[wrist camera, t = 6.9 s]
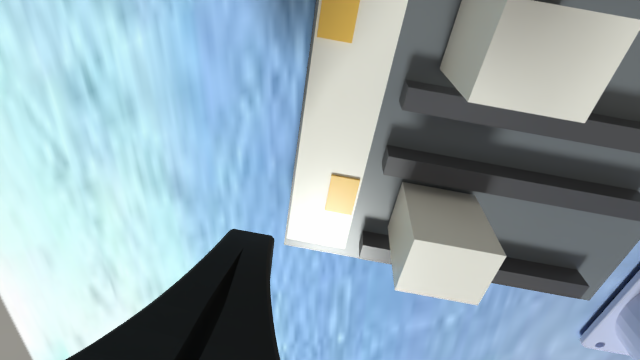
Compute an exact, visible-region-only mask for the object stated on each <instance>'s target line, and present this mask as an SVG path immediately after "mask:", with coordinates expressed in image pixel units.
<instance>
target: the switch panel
mask: <svg viewBox="0 0 640 360" xmlns="http://www.w3.org/2000/svg"><path fill="white" fill-rule="evenodd" d="M461 1H462V0H316V6H315V14H314V21H313V29H312V36H311V44H310V51H309V59H308V67H307V74H306V82H305V89H304V97H303V104H302V112H301V120H300V127H299V135H298V142H297V150H296V157H295V165H294V173H293V180H292V188H291V195H290V203H289V210H288V218H287V226H286V233H285V241H284V245H289V246H295V247H300V248H306V249H311V250H317V251H322V252H328V253H333V254H339V255H344V256H349V257H355V258H359V259H364V260H370V261H375V262H381V263H386V264H392V261H391V252H390V243H389V234H388V225H389V222H390V218H391V215H392V212H393V209H394V206H395V203H396V200H397V197H398V194H399V191H400V188H401V185H402V182H406V183H411V184H417V185H422V186H428V187H433V188H439V189H444V190H450V191H455V192H461V193H466V194H472V195H475V197H476V199H477V201H478V202H479V204H480V206H481V208H482V210H483V212H484V214H485V216H486V218H487V220H488V222H489V223H490V225H491V227H492V229H493V231H494V233H495V235H496V237H497V239H498V241H499V243H500V245H501V246H502V248H503V250H504V252H505V254H506V258H505V260H504V262H503V263H502V265H501V267H500V268H499V270H498V272H497V273H496V275H495V277H494V279H493V280H492V282H491V283H495V284H501V285H506V286H512V287H517V288H523V289H528V290H534V291H539V292H544V293H550V294H555V295H561V296H566V297H572V298H577V299H584V300H590V299H591V298H592V296H593V295H594V294H595V293H596V292H597V290H598V289H599V288H600V287H601V286H602V284H603V283H604V282H605V281H606V280H607V278H608V277H609V276H610V275H611V274H612V272H613V271H614V270H615V269H616V268H617V266H618V265H619V264H620V263H621V262H622V260H623V259H624V258H625V257H626V256H627V254H628V253H629V252H630V251H631V250H632V248H633V247H634V246H635V245H636V244H637V242H638V241H639V240H640V31H639V32H638V34H637V36H636V37H635V39H634V41H633V42H632V44H631V46H630V48H629V49H628V51H627V53H626V54H625V56H624V58H623V59H622V61H621V63H620V65H619V66H618V68H617V70H616V71H615V73H614V75H613V76H612V78H611V80H610V82H609V83H608V85H607V87H606V88H605V90H604V92H603V93H602V95H601V97H600V99H599V100H598V102H597V104H596V105H595V107H594V109H593V110H592V112H591V114H590V115H589V117H588V119H587V121H586V122H585V123H580V122H575V121H569V120H564V119H558V118H553V117H547V116H542V115H536V114H531V113H525V112H520V111H514V110H509V109H503V108H498V107H492V106H487V105H481V104H476V103H470V102H467V101H466V99H465V98H464V97H463V96H462V95H461V93H460V92H459V91H458V90H457V89H456V88H455V86H454V85H453V84H452V83H451V82H450V81H449V79H448V78H447V77H446V76H445V75H444V73H443V72H442V71H441V70H440V66H441V63H442V59H443V56H444V53H445V50H446V47H447V44H448V41H449V38H450V35H451V32H452V29H453V26H454V23H455V20H456V17H457V14H458V11H459V8H460V4H461ZM534 1H539V2H545V3H550V4H556V5H561V6H567V7H572V8H578V9H583V10H589V11H594V12H600V13H606V14H611V15H617V16H622V17H628V18H633V19H639V20H640V0H534Z"/></svg>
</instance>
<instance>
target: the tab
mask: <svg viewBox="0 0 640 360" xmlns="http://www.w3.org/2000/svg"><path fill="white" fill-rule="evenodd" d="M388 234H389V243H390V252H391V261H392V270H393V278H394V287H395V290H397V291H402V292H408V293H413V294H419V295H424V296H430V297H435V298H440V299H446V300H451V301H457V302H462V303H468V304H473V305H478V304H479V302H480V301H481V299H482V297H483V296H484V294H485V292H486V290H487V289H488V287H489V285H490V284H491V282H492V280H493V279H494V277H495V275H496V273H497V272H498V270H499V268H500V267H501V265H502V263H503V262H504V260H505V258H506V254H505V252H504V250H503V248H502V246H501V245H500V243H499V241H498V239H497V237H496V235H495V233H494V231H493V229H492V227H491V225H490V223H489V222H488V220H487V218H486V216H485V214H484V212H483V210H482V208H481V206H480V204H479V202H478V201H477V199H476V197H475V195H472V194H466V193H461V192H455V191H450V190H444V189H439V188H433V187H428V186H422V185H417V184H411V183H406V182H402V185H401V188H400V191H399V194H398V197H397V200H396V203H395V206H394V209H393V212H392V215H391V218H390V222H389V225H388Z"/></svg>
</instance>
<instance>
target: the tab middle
mask: <svg viewBox="0 0 640 360" xmlns="http://www.w3.org/2000/svg"><path fill="white" fill-rule="evenodd" d="M639 31H640V20H639V19H633V18H628V17H622V16H617V15H611V14H606V13H600V12H594V11H589V10H583V9H578V8H572V7H567V6H561V5H556V4H550V3H545V2H539V1H534V0H462V1H461V4H460V8H459V11H458V14H457V17H456V20H455V23H454V26H453V29H452V32H451V35H450V38H449V41H448V44H447V47H446V50H445V53H444V56H443V59H442V63H441V66H440V70H441V71H442V72H443V73H444V75H445V76H446V77H447V78H448V79H449V81H450V82H451V83H452V84H453V85H454V86H455V88H456V89H457V90H458V91H459V92H460V93H461V95H462V96H463V97H464V98H465V99H466V101H467V102H470V103H476V104H481V105H487V106H492V107H498V108H503V109H509V110H514V111H520V112H525V113H531V114H536V115H542V116H547V117H553V118H558V119H564V120H569V121H575V122H580V123H585V122H586V121H587V119H588V117H589V115H590V114H591V112H592V110H593V109H594V107H595V105H596V104H597V102H598V100H599V99H600V97H601V95H602V93H603V92H604V90H605V88H606V87H607V85H608V83H609V82H610V80H611V78H612V76H613V75H614V73H615V71H616V70H617V68H618V66H619V65H620V63H621V61H622V59H623V58H624V56H625V54H626V53H627V51H628V49H629V48H630V46H631V44H632V42H633V41H634V39H635V37H636V36H637V34H638V32H639Z"/></svg>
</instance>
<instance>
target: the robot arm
mask: <svg viewBox="0 0 640 360" xmlns="http://www.w3.org/2000/svg"><path fill="white" fill-rule="evenodd" d="M273 248H274V238H273V237H272V236H270V235H265V234H259V233H253V232H248V231H242V230H237V229H232V230H230V231H229V232H228V233H227V234H226V235H225V236H224V237H223V238H222V239H221V241H220V242H219V243H218V244H217V245H216V246H215V247H214V248H213V249H212V250H211V251H210V252H209V253H208V254H207V255H206V256H205V257H204V258H203V259H202V260H201V261H199V262H198V263H197V264H196V265H195V266H194V267H193V268H192V269H191V270H190V271H189V272H188V273H187V274H185V275H184V276H183V277H182V278H181V279H180V280H178V281H177V282H176V283H175V284H174V285H173V286H171V287H170V288H169V289H168V290H167V291H165V292H164V293H163V294H162V295H161V296H159V297H158V298H157V299H156V300H154V301H153V302H152V303H150V304H149V305H148V306H146V307H145V308H144V309H142V310H141V311H140V312H138V313H137V314H136V315H134V316H133V317H131V318H130V319H129V320H127V321H126V322H124V323H123V324H121V325H120V326H118V327H117V328H115V329H114V330H112V331H111V332H109V333H108V334H106V335H105V336H103V337H102V338H100V339H99V340H97V341H96V342H94V343H93V344H91V345H89V346H88V347H86V348H85V349H83V350H81V351H80V352H78V353H76V354H75V355H73V356H71V357H69V358H68V359H66V360H280V357H279V353H278V347H277V342H276V336H275V330H274V323H273V315H272V306H271V295H270V275H271V266H272V257H273ZM580 342H581V344H582V345H583V346H584V347H586V348H591V349H596V350H602V351H607V352H613V353H618V354H624V355H629V356H631V357H632V358H633V360H640V270H639V271H638V272H637V273H636V275H635V276H634V277H633V278H632V279H631V280H630V281H629V282H628V284H627V285H626V286H625V287H624V288H623V289H622V290H621V291H620V293H619V294H618V295H617V296H616V297H615V298H614V299H613V301H612V302H611V303H610V304H609V305H608V306H607V307H606V308H605V310H604V311H603V312H602V313H601V314H600V315H599V316H598V317H597V319H596V320H595V321H594V322H593V323H592V324H591V325H590V327H589V328H588V329H587V330H586V331H585V332H584V333H583V334H582V336H581V337H580Z"/></svg>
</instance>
